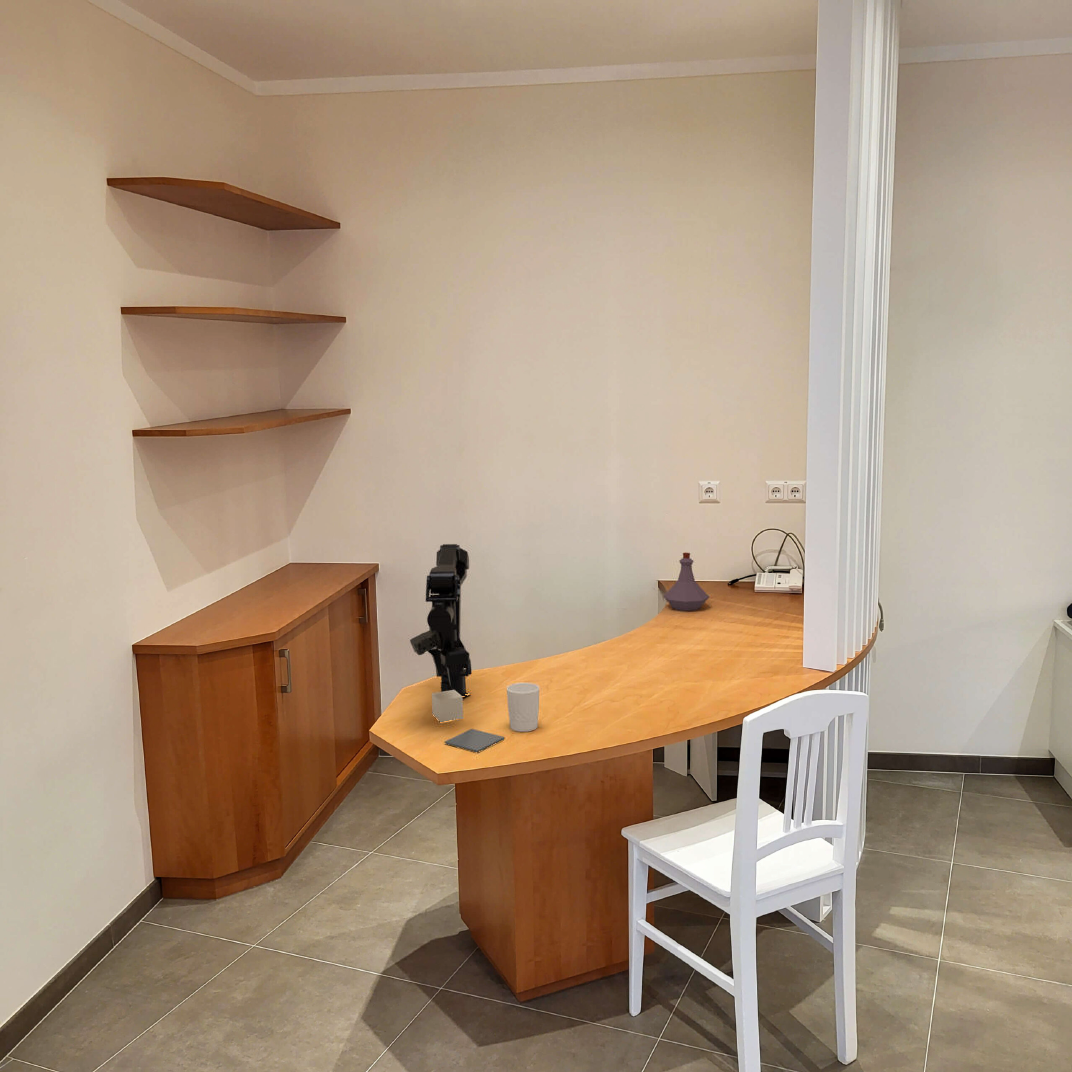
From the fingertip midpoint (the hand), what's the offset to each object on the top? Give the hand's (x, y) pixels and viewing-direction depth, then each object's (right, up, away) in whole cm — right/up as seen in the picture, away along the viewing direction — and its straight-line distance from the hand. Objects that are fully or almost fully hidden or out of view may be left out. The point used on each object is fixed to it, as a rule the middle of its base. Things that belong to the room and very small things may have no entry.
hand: (446, 681), depth 247 cm
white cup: (+19, -10, -6) cm, 23 cm away
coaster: (+8, -12, -15) cm, 21 cm away
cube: (0, -9, +1) cm, 10 cm away
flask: (+76, +10, +108) cm, 132 cm away
